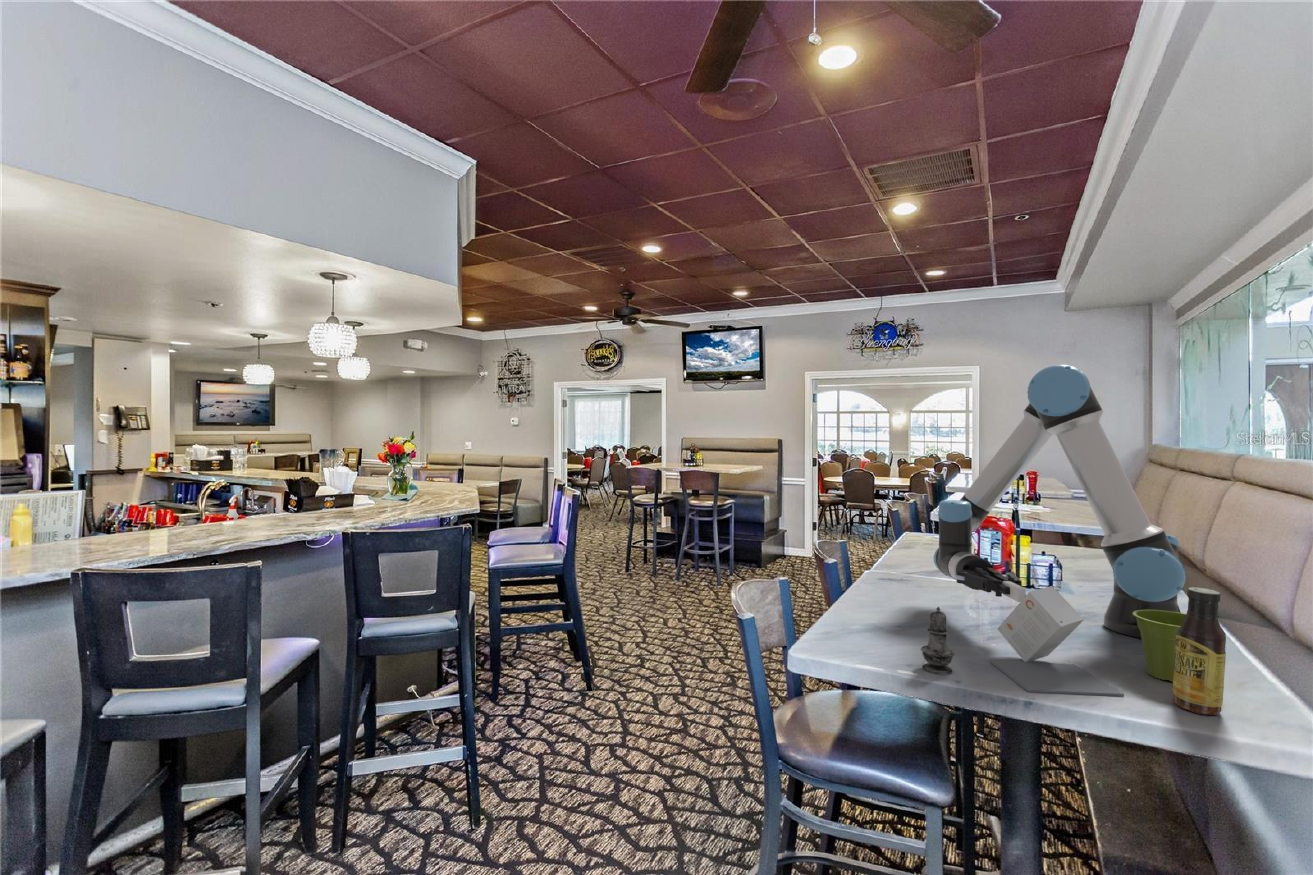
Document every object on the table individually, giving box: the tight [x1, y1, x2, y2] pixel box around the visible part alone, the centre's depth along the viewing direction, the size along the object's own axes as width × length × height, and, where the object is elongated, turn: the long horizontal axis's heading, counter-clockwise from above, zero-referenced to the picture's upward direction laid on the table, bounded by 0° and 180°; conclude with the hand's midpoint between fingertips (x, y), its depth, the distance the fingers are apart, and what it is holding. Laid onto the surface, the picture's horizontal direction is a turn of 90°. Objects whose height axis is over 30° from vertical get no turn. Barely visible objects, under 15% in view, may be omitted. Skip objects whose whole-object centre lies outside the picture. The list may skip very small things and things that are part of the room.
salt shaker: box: [920, 606, 955, 676], centre depth 117 cm, size 6×6×12 cm
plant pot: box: [1133, 610, 1187, 683], centre depth 115 cm, size 12×12×11 cm
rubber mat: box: [989, 659, 1125, 697], centre depth 113 cm, size 16×14×1 cm
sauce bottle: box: [1172, 586, 1227, 716], centre depth 101 cm, size 7×6×20 cm
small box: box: [997, 585, 1085, 662], centre depth 120 cm, size 8×6×13 cm
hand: (1022, 595), depth 121 cm, fingers closed
